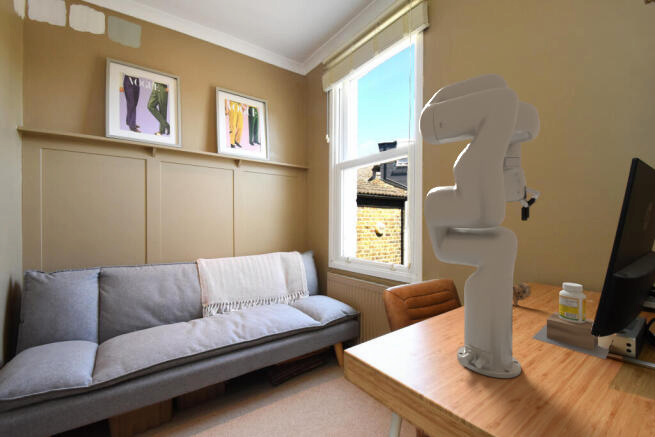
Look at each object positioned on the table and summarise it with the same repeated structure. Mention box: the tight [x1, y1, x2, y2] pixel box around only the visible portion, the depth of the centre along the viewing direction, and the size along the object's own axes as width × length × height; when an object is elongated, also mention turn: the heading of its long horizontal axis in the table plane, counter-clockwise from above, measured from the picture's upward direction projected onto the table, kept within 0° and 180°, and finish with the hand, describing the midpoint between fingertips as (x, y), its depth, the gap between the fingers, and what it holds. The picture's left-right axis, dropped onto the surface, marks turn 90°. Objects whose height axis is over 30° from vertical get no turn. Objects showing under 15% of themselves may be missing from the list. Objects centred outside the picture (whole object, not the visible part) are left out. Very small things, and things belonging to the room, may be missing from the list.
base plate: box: [531, 323, 610, 360], centre depth 73 cm, size 16×14×1 cm
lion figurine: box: [513, 282, 532, 307], centre depth 103 cm, size 15×5×9 cm, turn 48°
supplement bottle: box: [558, 282, 587, 323], centre depth 73 cm, size 5×5×10 cm
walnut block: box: [546, 311, 598, 350], centre depth 73 cm, size 9×9×5 cm
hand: (506, 220), depth 86 cm, fingers open, 9 cm apart
